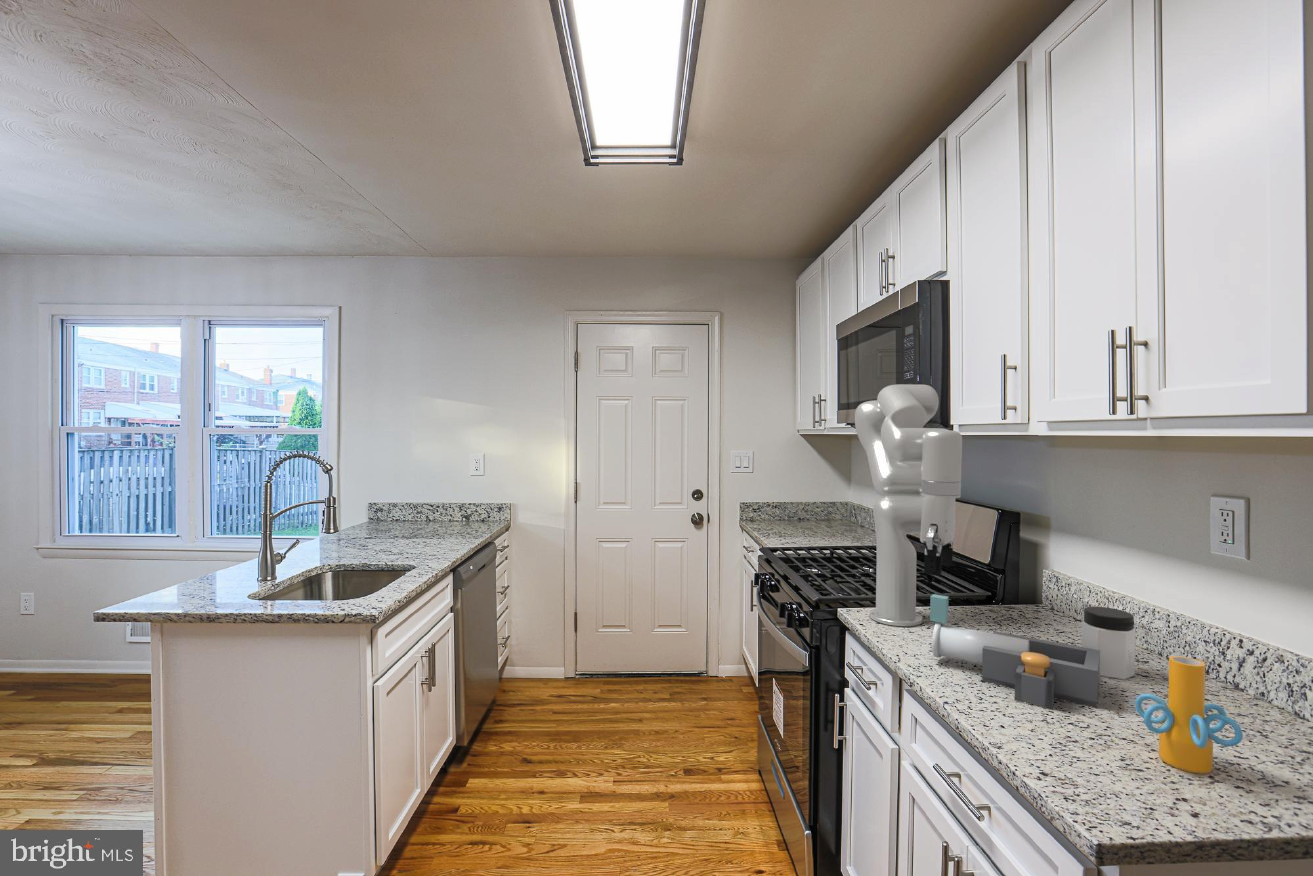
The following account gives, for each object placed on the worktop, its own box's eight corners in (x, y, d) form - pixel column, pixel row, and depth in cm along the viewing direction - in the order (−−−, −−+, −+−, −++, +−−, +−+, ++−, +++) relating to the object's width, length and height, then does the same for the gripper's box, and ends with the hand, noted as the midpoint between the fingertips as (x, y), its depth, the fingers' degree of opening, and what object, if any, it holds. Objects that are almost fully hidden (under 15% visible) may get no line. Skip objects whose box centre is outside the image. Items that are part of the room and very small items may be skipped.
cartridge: (935, 650, 133) (936, 592, 133) (1029, 669, 123) (1030, 606, 122) (926, 659, 128) (927, 599, 127) (1024, 681, 117) (1025, 615, 117)
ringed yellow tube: (1251, 771, 88) (1253, 666, 88) (1231, 795, 82) (1233, 683, 82) (1146, 736, 98) (1148, 642, 98) (1121, 755, 92) (1123, 655, 92)
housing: (993, 662, 129) (994, 631, 129) (1099, 684, 118) (1100, 650, 118) (976, 691, 114) (976, 656, 114) (1095, 719, 103) (1096, 681, 103)
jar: (1122, 683, 119) (1123, 621, 119) (1074, 669, 126) (1075, 610, 125) (1140, 673, 124) (1141, 613, 124) (1094, 660, 130) (1095, 604, 130)
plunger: (1022, 686, 114) (1022, 650, 114) (1050, 692, 111) (1051, 655, 111) (1019, 694, 111) (1019, 657, 111) (1047, 701, 108) (1048, 663, 108)
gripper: (932, 483, 138) (930, 559, 139) (910, 491, 125) (908, 575, 125) (969, 486, 134) (966, 564, 135) (950, 495, 120) (948, 581, 121)
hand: (938, 569), depth 130 cm, fingers open, 9 cm apart
